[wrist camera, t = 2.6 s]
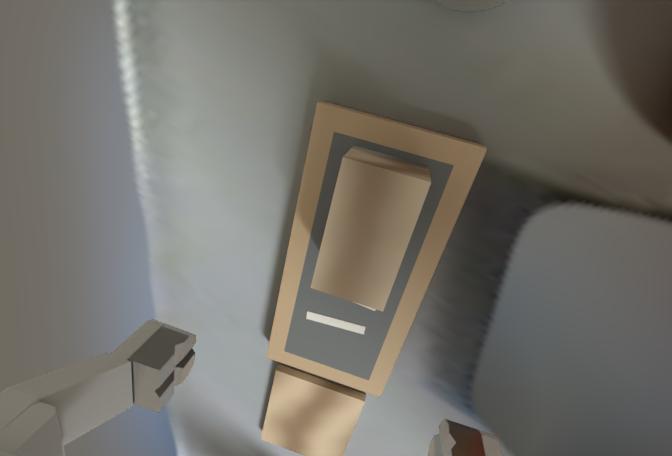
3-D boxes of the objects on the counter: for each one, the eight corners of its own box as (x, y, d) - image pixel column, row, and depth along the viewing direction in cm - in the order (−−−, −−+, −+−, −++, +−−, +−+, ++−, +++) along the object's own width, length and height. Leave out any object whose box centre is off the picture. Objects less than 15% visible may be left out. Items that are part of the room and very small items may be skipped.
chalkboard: (482, 144, 22) (487, 148, 21) (381, 384, 32) (380, 397, 31) (322, 100, 23) (316, 101, 22) (272, 346, 33) (266, 357, 32)
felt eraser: (428, 166, 22) (431, 182, 18) (387, 279, 26) (383, 311, 22) (353, 145, 22) (342, 156, 19) (324, 259, 26) (310, 287, 23)
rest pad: (365, 394, 33) (364, 401, 32) (339, 460, 38) (337, 468, 37) (278, 364, 34) (275, 370, 33) (263, 432, 38) (260, 439, 38)
